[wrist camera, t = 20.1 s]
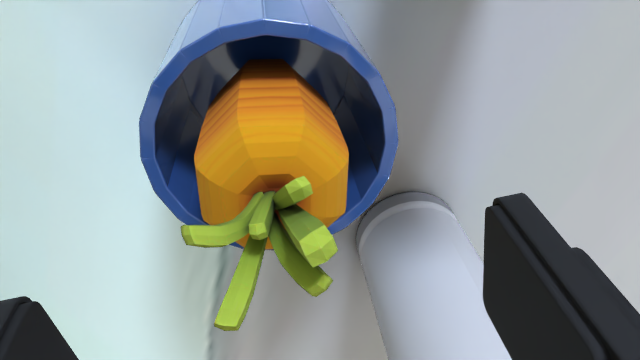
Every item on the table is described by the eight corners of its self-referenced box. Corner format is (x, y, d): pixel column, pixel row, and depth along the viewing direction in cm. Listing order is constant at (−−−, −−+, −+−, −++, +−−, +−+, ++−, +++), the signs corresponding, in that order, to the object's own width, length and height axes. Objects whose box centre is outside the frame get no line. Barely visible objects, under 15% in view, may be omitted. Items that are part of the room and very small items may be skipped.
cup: (147, -6, 22) (95, 52, 15) (342, -44, 22) (385, -6, 15) (204, 163, 27) (186, 270, 19) (364, 131, 27) (406, 225, 19)
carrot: (241, 134, 25) (231, 394, 13) (193, 45, 23) (118, 259, 10) (332, 96, 25) (416, 327, 12) (292, 1, 22) (348, 167, 9)
